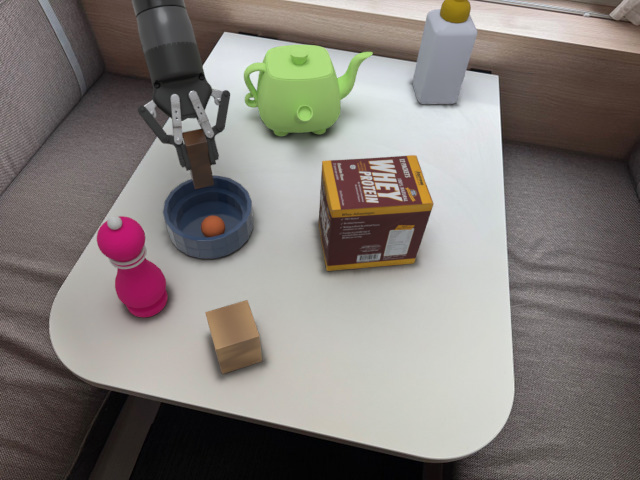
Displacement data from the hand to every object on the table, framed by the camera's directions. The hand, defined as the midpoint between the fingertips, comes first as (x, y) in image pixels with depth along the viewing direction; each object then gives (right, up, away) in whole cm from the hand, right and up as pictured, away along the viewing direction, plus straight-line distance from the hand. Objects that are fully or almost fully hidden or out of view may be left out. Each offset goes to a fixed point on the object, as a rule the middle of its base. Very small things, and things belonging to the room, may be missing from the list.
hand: (201, 166), depth 77 cm
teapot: (+15, +13, +32) cm, 37 cm away
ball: (-1, -9, +11) cm, 14 cm away
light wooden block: (+5, -27, 0) cm, 28 cm away
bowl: (-1, -9, +14) cm, 17 cm away
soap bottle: (+43, +22, +41) cm, 63 cm away
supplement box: (+25, -12, +14) cm, 31 cm away
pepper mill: (-10, -20, +5) cm, 23 cm away
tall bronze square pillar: (-1, -1, +5) cm, 5 cm away
